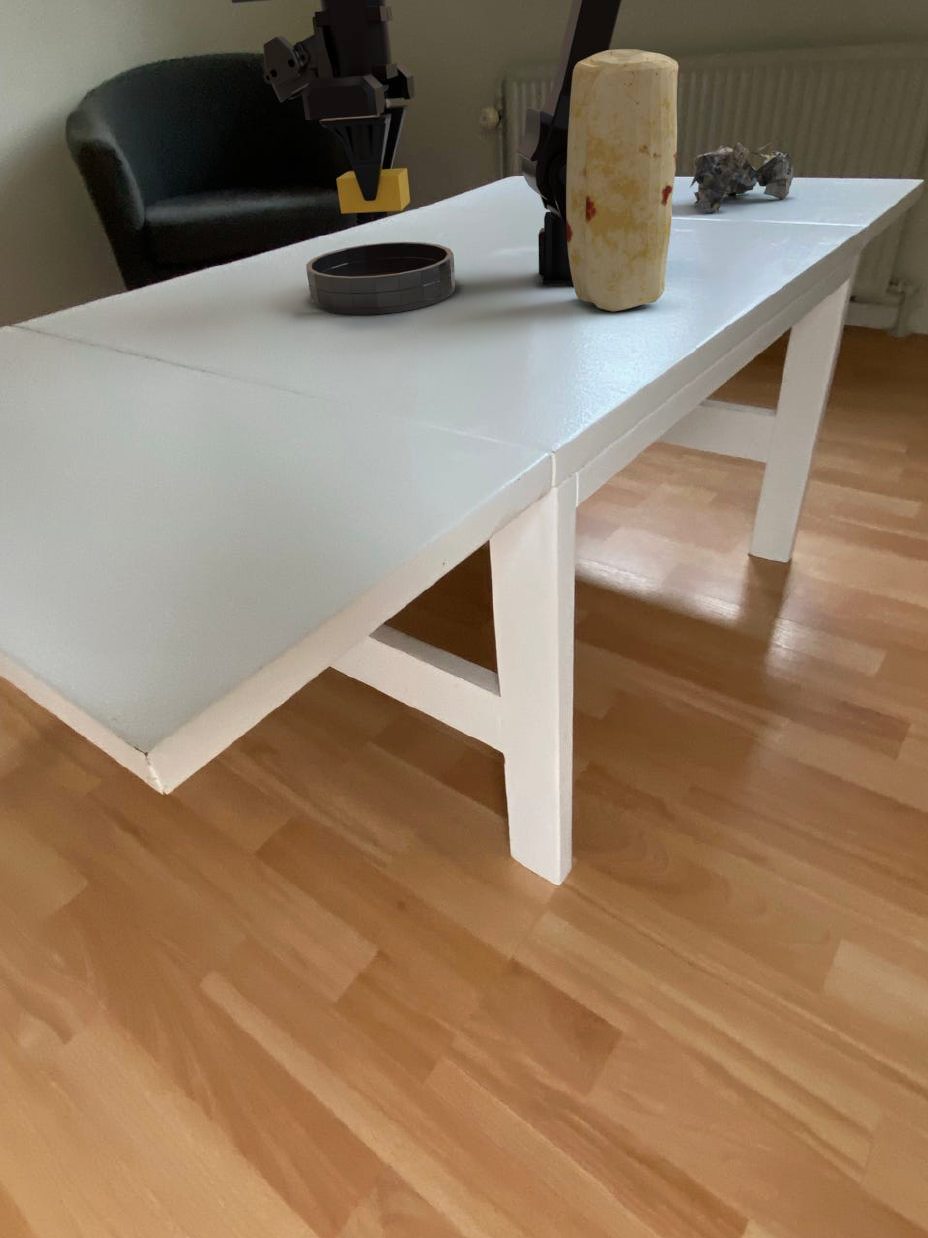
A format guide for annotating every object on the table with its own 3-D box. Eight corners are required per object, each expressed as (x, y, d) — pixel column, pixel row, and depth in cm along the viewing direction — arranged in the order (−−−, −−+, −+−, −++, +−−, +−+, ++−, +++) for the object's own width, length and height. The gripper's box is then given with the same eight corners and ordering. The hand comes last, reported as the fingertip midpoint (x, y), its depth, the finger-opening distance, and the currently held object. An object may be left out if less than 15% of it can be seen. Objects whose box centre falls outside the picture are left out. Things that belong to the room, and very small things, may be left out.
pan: (464, 272, 91) (462, 239, 89) (442, 313, 79) (439, 275, 77) (334, 277, 93) (329, 244, 91) (293, 316, 81) (286, 280, 79)
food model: (672, 297, 78) (693, 43, 66) (653, 317, 74) (672, 48, 62) (576, 291, 82) (580, 50, 70) (552, 310, 77) (552, 55, 66)
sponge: (410, 201, 81) (407, 167, 79) (401, 210, 77) (398, 174, 76) (352, 204, 82) (347, 171, 80) (341, 213, 78) (336, 178, 77)
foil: (822, 176, 106) (736, 111, 101) (766, 254, 111) (681, 196, 106) (789, 160, 115) (708, 99, 110) (738, 232, 121) (659, 177, 115)
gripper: (294, 3, 78) (321, 184, 88) (223, 1, 64) (265, 219, 73) (407, -7, 77) (423, 178, 86) (361, -12, 62) (386, 213, 71)
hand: (375, 195), depth 79 cm, fingers closed on sponge, 4 cm apart
